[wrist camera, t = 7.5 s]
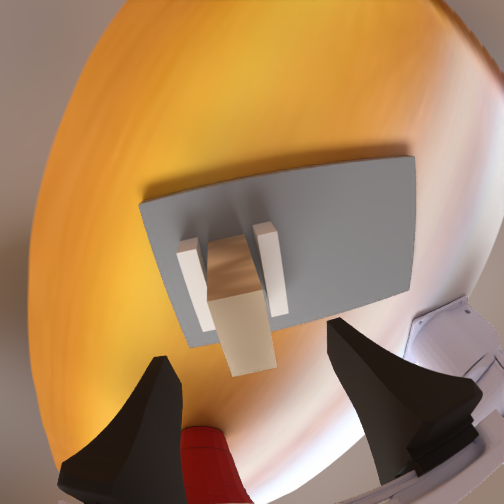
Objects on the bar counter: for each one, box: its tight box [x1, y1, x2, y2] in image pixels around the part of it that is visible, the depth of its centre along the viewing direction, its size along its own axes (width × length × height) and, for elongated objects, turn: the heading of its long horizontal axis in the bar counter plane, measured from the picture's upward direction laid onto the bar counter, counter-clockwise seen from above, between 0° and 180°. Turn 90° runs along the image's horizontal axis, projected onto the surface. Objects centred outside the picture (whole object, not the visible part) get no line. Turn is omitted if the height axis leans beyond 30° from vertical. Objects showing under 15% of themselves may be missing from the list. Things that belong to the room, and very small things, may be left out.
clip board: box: [139, 155, 416, 348], centre depth 19 cm, size 20×12×3 cm, turn 100°
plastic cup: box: [180, 426, 254, 504], centre depth 23 cm, size 11×11×12 cm
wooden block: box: [207, 234, 277, 377], centre depth 16 cm, size 2×5×7 cm, turn 10°
